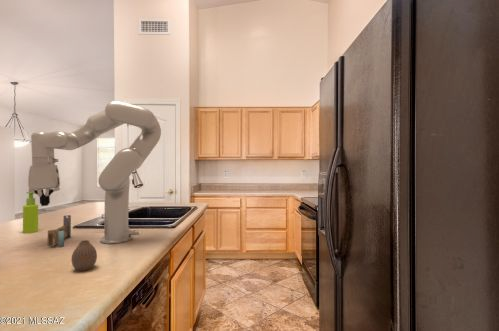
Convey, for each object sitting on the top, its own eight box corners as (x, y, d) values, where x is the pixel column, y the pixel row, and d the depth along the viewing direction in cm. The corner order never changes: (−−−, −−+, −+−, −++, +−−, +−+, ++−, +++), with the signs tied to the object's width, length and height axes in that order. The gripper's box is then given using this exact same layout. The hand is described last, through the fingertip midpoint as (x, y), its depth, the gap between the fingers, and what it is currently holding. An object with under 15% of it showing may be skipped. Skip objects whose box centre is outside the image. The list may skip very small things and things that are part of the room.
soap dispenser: (31, 233, 131) (31, 192, 132) (19, 233, 133) (20, 192, 133) (42, 231, 137) (43, 191, 137) (31, 230, 139) (31, 191, 139)
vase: (91, 263, 91) (91, 237, 91) (100, 268, 87) (100, 240, 87) (68, 269, 86) (68, 241, 86) (76, 274, 82) (76, 245, 82)
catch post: (64, 245, 112) (64, 230, 112) (63, 246, 110) (63, 231, 110) (59, 245, 112) (59, 231, 112) (57, 247, 110) (57, 232, 110)
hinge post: (71, 236, 126) (71, 215, 126) (69, 238, 124) (69, 216, 124) (64, 237, 125) (64, 215, 125) (62, 238, 123) (62, 216, 123)
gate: (62, 236, 122) (62, 223, 122) (68, 236, 123) (68, 223, 123) (47, 245, 108) (47, 230, 108) (54, 245, 108) (54, 230, 108)
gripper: (66, 161, 120) (68, 203, 120) (25, 162, 115) (27, 205, 115) (61, 161, 113) (62, 205, 113) (17, 162, 108) (19, 208, 108)
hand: (45, 205), depth 114 cm, fingers closed
